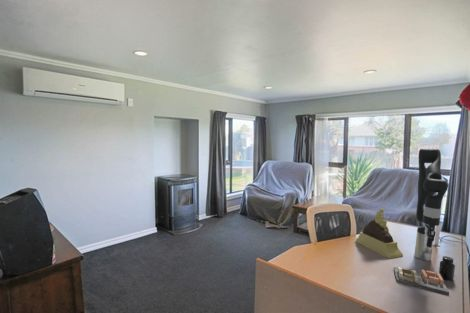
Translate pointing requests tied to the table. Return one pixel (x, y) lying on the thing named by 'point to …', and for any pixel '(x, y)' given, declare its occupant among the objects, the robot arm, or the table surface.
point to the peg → (425, 248)
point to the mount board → (417, 280)
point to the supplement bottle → (447, 268)
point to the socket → (432, 277)
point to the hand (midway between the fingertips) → (428, 245)
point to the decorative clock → (379, 237)
